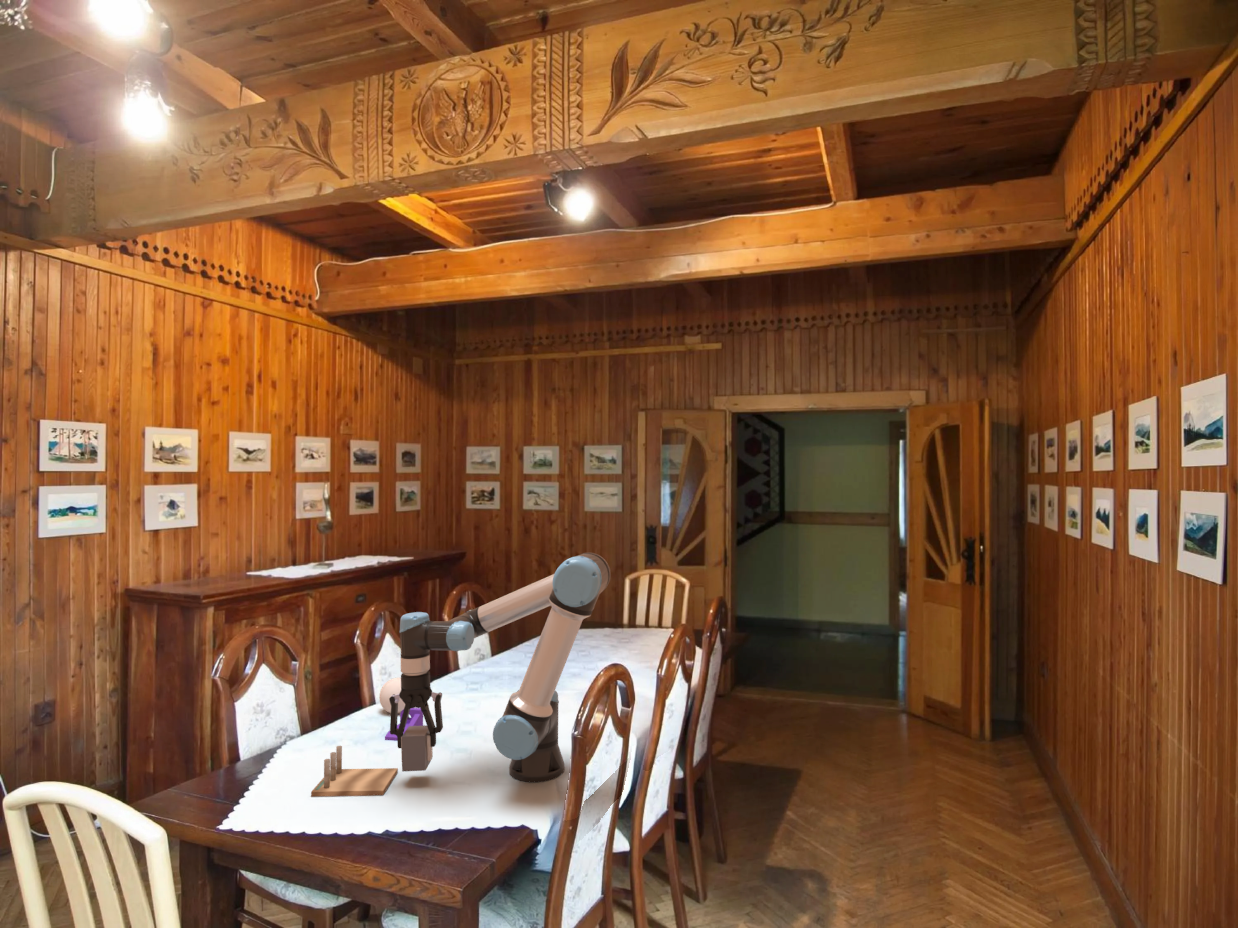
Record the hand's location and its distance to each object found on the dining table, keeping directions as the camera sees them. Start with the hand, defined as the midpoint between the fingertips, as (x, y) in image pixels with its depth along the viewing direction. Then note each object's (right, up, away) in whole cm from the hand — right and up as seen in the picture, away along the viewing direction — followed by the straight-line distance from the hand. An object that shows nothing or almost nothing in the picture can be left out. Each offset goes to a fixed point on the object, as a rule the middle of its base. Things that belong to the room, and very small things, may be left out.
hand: (417, 758), depth 191 cm
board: (-16, -6, -2) cm, 17 cm away
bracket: (-14, -7, +35) cm, 38 cm away
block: (0, -1, 0) cm, 1 cm away
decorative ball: (-22, -7, +55) cm, 60 cm away
